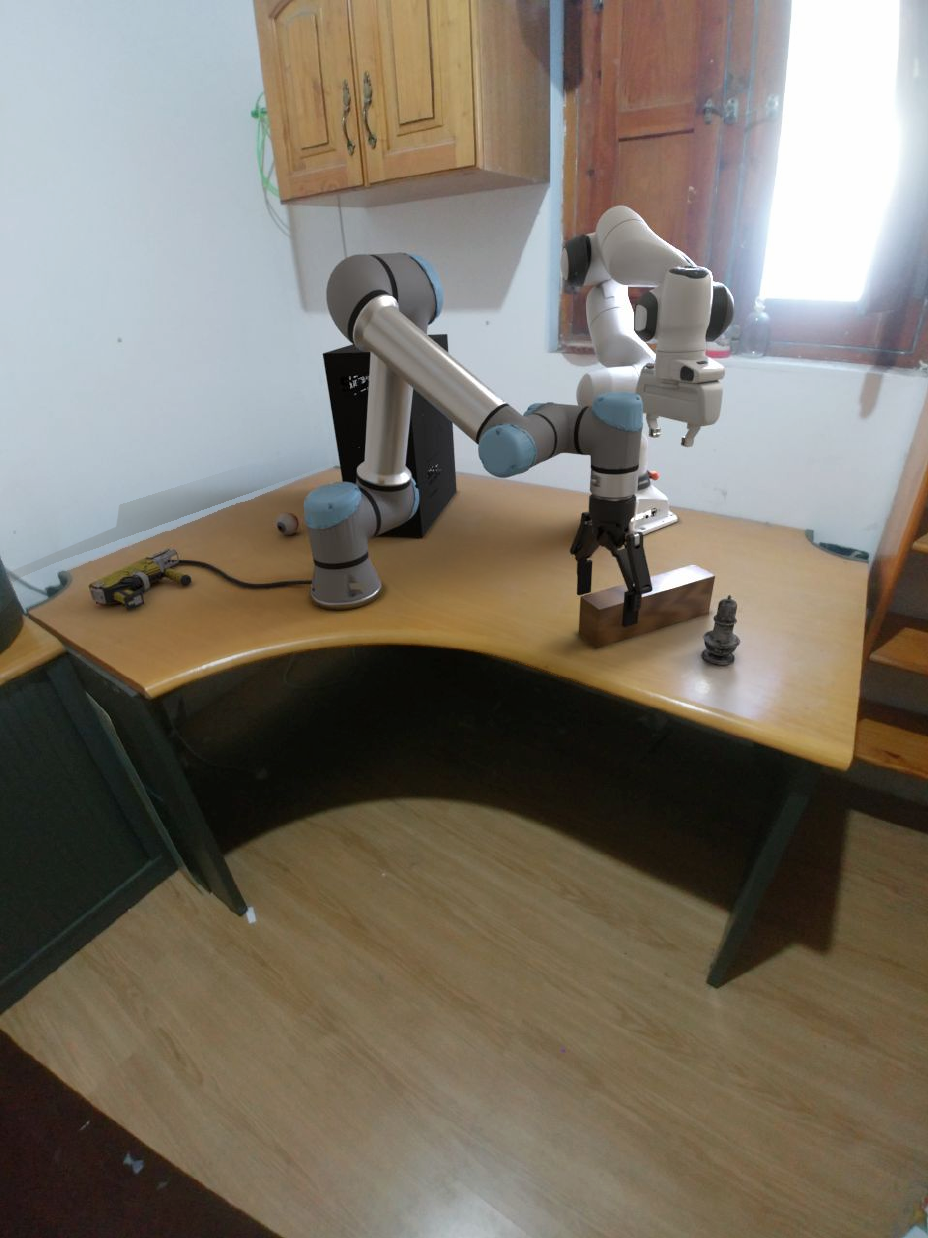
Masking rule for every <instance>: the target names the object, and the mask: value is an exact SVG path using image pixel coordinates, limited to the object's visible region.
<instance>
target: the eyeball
mask: <svg viewBox="0 0 928 1238" xmlns="http://www.w3.org/2000/svg"><path fill="white" fill-rule="evenodd" d="M299 525H300V522H299V519H298V517H297V516H296V515H295V514H294V513H292V512H287V511H286V512H282V513H280V514H279V515H278V516H277V517H276V520H275V527H276V529H277V530H278V531H279V532H280V533H281V534H282V535H285V536H286V535H287V536H289V535H293V534H295V533H296V532H297V531H298V529H299Z"/></svg>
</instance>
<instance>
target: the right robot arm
mask: <svg viewBox="0 0 928 1238" xmlns="http://www.w3.org/2000/svg"><path fill="white" fill-rule="evenodd" d="M559 261H560V262H559V265H560V272H561V274H562V278H563V281H564V282H565V283H566V284H567V285H568V286H569V287H574V288H582V287H584V286H593V287H592V288H590V290H589V292H588V294H587V296H586V298H585V299H586V300H585V311H586V322H587V328H588V331H589V336H590V339H591V344H592V347H593V351H594V354H595V357H596V359H597V361H598V362H599V363H600V364H601V365H602V366H603V367H602V368H599V369H596V370H592V371H589V372H586V373H584V374H583V376H582V377H581V378H580V380H579V382H578V384H577V386H576V392H575V399H576V403H577V405H580V406H592V405H593V400H594V398H595V397H596V396H597V395H599V394H602V393H607V392H630V393H635V394H638V395H639V396H640V397H641V398H642V401H643V415H644V414H645V420H646V424H647V427H648V437H649V438H653V439H656V438H659V437H660V436H661V432H662V431H661V430H662V428H661V427H659V424H658V423H659V422H658V419H659V417H660V418H664V419H669V420H672V421H678V422H680V423H681V422H682V423H684V424H686V429H687V432H686V434H685V436H684V435H683V436H681V440H680V441H681V442H680V446H682V447H685V448H692V447H693V446H694V444H695V437H696V436H697V435H698V434H699V432H700V430H701V428H702V427H707V426H712V425H715V424H716V423H717V422H718V421H719V418H720V416H721V410H722V404H723V403H722V402H723V385H722V383H721V382H720V380H723V379H724V378H725V375H726V369H725V367H724V366H723V365H722V364H720V363H718V362H717V361H715V360H713V359H712V358H711V357H709V356H708V355H706V354H707V353H706V351H707V343H713V342H715V341H716V340H717V339H719V338H720V337H721V336H722V335H723V334H724V333H725V332H726V330H727V329H728V328H729V327H730V326H731V324H732V321H733V319H734V315H735V301H734V297H733V295H732V293H731V292H730V290H729V288H727V286H726V285H725V284H723V283H721V282H716V281H713V275H712V272H711V270H709V269H708V268H706V267H704V266H700V265H699V266H698V265H697V264H696V263H695V262H694V261H693V260H692V259H690V257H688V255H687V254H685V253H684V252H682V251H681V250H679V249H678V248H676V247H674V246H672V245H671V244H669V243H668V242H666V241H665V240H663V239H662V238H661V237H659V236H658V235H657V234H656V233H655V232H654V231H652V229H651V228H650V227H649V225H648V224H647V223H646V221H645V220H644V219H643V217H642V216H640V215H639V214H638V213H637V212H636V211H635V210H633V209H632V208H630V207H629V206H626V205H615V206H612V207H610V208H608V209H607V210H606V211H605V212H603V214H602V215H601V216H600V218H599V220H598V221H597V224H596V227H595V232H589V233H587V234H584V233H582V234H579V235H576V236H574V237H572V238H570V239H568V240H567V241H566V242H565V244H564V245H563V246H562V249H561V255H560V260H559ZM629 287H630V288H631V287H632V288H653V289H650V290H646V291H645V292H644V293H643V294H642V295H641V296H640V297H639V299H638V300H637V301H636V303H635V305H634V309H633V307H632V304H631V302H630V298H629V294H628V289H629ZM648 344H651V345H652V344H654V345H655V344H656V348H655V352H654V351H653V350H652V349H651V348H650V347H649V345H648ZM649 446H650V444H649V440H648V438H647V437H646V435H645V434H644V433H642V436H641V445H640V455H639V472H638V487H637V492H636V493H635V494H634V495H635V496H636V507H635V516H634V518H633V519H632V520H631V521H630V523H629V527H630V532H633V533H637V532H642V533H643V536H645V535H646V534H650V533H652V532H654V531H657V530H660V529H662V528H665V527H668V526H670V525H672V524H675V523H677V522H678V516H677V515H676V514H675V513H674V512H672V511H670V503H669V502H670V501H669V498H668V497H667V496H666V495H665V494H664V493H663V492H661V491H660V490H659V489H658V488H656V487H655V486H654V485H652V483H651V480H653V481H658V479H659V478H660V473H659V472H657V471H654V470H651V471H649V470H648V469H647V466H648V458H649V457H648V455H649Z"/></svg>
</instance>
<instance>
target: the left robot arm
mask: <svg viewBox="0 0 928 1238" xmlns="http://www.w3.org/2000/svg"><path fill="white" fill-rule="evenodd" d="M326 284H327V285H326V292H325V296H326V307H327V310H328V312H329V315H330V317H331V320H332V322H333V323H334V325H335V327H336V328H337V329H338V331H339V332H340V334H342V335H343V336H344V338H346V339H347V340H348V341H349V342H350V343H351V345H352V344H353V345H355V346H356V347H357V348H358V349H359V350H361V351H363V352H371V356H370V374H369V392H368V410H367V429H366V447H365V461H364V462H363V463H361V464H360V465H359V466H358V468H357V480H356V485H355V484H353V483H350V482H342V481H335V482H333V483H327V484H324V485H321V486H319V487H317V488H314V489H313V490H312V491H310V492H309V493H308V494H307V495H306V497H305V498H304V501H303V512H304V517H303V518H304V524H305V525H306V529H307V534H308V539H309V540H308V541H309V546H310V550H311V555H312V560H313V573H312V579H304V580H303V579H302V580H285V581H277V582H276V581H275V582H268V583H251V582H245V581H242V580H240V579H237V578H234V577H232V576H229V575H228V574H227V573H226V572H224V571H223V570H221V569H220V568H217V567H216V566H214V565H212V564H209V563H207V562H204V561H200V560H192V559H179V563H178V564H184V565H185V564H188V565H197V566H202V567H205V568H207V569H209V570H212V572H215V573H217V574H219V575H220V576H221V577H223V578H224V579H226V580H228V581H229V582H231V583H234V584H236V585H239V586H241V587H245V588H251V589H266V588H275V587H282V586H284V587H285V586H296V585H297V586H299V585H311V586H310V597H311V600H312V602H313V604H314V605H316V606H317V607H319V608H321V609H325V610H331V611H346V610H352V609H356V608H360V607H363V606H367V605H368V604H371V603H372V602H374V601H375V600H377V599H378V598H379V597H380V595H381V594H382V591H383V586H382V580H381V578H380V577H379V574H378V573H377V571H376V569H375V566H374V565H373V563H372V561H371V559H370V554H369V547H368V541H369V540H371V539H373V538H375V537H377V535H379V534H382V533H384V532H386V531H388V530H390V529H392V528H395V527H398V526H400V525H402V524H403V523H405V522H406V521H408V520H409V519H410V518H412V517H413V515H414V514H415V512H416V511H417V508H418V505H419V491H418V488H416V487H415V485H416V483H415V481H414V479H413V478H412V477H411V472H410V470H409V469H408V468H407V467H406V466H405V463H406V453H407V443H408V434H409V424H410V414H411V404H412V394H413V388H414V389H415V390H416V391H417V392H418V393H419V394H420V395H422V396H423V397H424V398H425V399H426V400H427V401H428V402H430V403H431V404H432V405H433V406H434V407H435V408H436V409H438V410H439V411H440V412H441V413H442V414H443V415H444V416H446V417H447V418H448V419H449V420H450V421H451V422H452V423H453V425H455V427H457V428H458V429H459V430H460V431H461V432H462V433H463V434H465V436H467V437H468V438H469V439H471V440H472V441H473V442H474V443H475V444H476V445H478V446H477V448H478V449H477V453H478V458H479V460H480V461H481V463H482V466H483V468H484V470H485V471H486V472H488V474H490V475H491V476H494V477H496V478H500V479H505V478H506V479H507V478H511V477H514V476H516V475H521V474H524V473H525V472H528V471H529V470H530V469H531V468H533V467H535V466H537V465H539V464H541V463H544V462H546V461H548V460H550V459H553V458H554V457H556V456H558V455H561V454H572V455H580V456H590V457H589V458H590V476H589V477H590V479H589V492H590V493H591V494H589V496H588V511H583V512H581V513H580V514H581V515H580V524H579V526H578V528H577V531H576V534H575V535H574V538H573V540H572V543H571V546H570V548H569V554H570V555H571V556H574V559H575V561H576V578H577V579H576V595H577V596H579V597H580V596H583V595H587V594H591V593H592V580H593V560H592V558H593V554H595V552H596V551H597V550H598V548H599V547H602V548H603V547H604V548H605V549H606V550H607V551H609V552H610V554H611V556H612V557H613V558H615V560H616V562H617V565H618V568H619V571H620V573H621V576H622V578H623V581H624V584H626V586H627V589H628V591H625V592H624V605H623V618H622V626H623V627H627V626H631V625H634V624H637V623H638V612H639V609H640V608H641V600H642V594H645V593H648V592H651V591H652V590H653V588H652V583H651V579H650V577H651V574H650V570H649V566H648V561H647V557H646V553H645V548H644V535H643V533H642V532H637V533H633V532H630V527H629V523H630V521H631V520H632V519H633V518H634V516H635V507H636V496H635V495H634V494H635V493H636V492H637V487H638V472H639V455H640V445H641V436H642V434H643V429H644V422H643V421H644V419H643V417H644V414H643V401H642V398H641V397H640V396H639V395H638V394H635V393H630V392H607V393H602V394H599V395H597V396H596V397H595V398H594V400H593V405H592V406H580V405H578V404H565V403H556V402H551V401H547V402H544V403H543V402H536V403H532V404H530V405H529V406H528V407H527V409H526V411H524V412H523V414H522V413H520V412H519V411H517V410H516V409H515V408H514V407H513V406H511V405H510V404H509V403H508V402H507V401H505V400H504V399H503V398H502V397H501V396H499V395H498V394H497V393H496V392H495V391H493V390H492V389H491V388H490V387H489V386H487V385H486V384H485V383H484V382H483V381H482V380H480V378H478V377H477V376H476V375H475V374H473V372H472V371H470V370H469V369H468V368H467V367H465V366H464V365H463V364H462V363H460V361H458V360H457V359H456V358H455V357H453V356H452V355H451V354H450V353H449V351H448V352H446V351H445V350H444V349H443V348H442V347H441V346H439V345H438V344H437V343H436V342H435V341H434V340H432V339H431V338H430V337H429V336H428V335H429V334H428V326H430V325H431V324H433V323H434V322H435V321H436V319H438V318H439V317H440V315H441V312H442V309H443V305H444V290H443V285H442V282H441V279H440V276H439V274H438V273H437V272H436V269H435V267H434V266H433V264H432V263H431V262H430V261H428V259H426V258H425V257H423V256H421V255H418V254H414V253H407V252H401V251H398V252H388V253H373V254H371V253H369V254H367V253H360V254H359V253H358V254H353V255H350V256H348V257H345V258H344V259H342V260H341V261H340V262H338V264H337V265H336V266H335V267H334V269H333V270H332V271H331V273H330V275H329V278H328V280H327V283H326ZM622 547H624V548H622ZM173 560H174V561H177V560H178V559H173ZM174 561H172V562H174ZM168 562H171V561H170V559H169V560H168ZM633 584H634V586H633Z"/></svg>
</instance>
